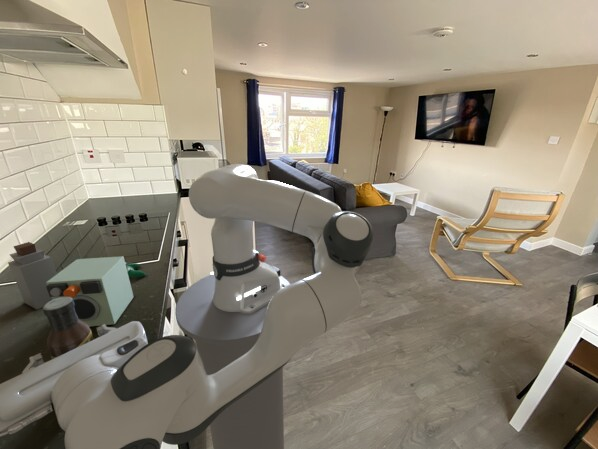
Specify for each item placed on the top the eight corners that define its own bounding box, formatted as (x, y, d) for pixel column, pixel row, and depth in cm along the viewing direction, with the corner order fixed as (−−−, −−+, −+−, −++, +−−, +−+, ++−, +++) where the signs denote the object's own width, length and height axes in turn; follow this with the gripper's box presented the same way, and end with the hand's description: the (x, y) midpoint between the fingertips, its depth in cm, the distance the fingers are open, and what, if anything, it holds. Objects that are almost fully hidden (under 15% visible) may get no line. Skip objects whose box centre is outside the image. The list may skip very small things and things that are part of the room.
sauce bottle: (99, 396, 51) (69, 311, 44) (60, 406, 49) (22, 319, 42) (110, 368, 56) (85, 290, 49) (75, 376, 54) (44, 296, 48)
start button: (76, 297, 62) (73, 289, 61) (64, 298, 62) (61, 290, 61) (81, 292, 64) (78, 284, 63) (70, 293, 63) (67, 285, 63)
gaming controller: (133, 273, 96) (117, 266, 92) (140, 264, 97) (124, 257, 93) (140, 283, 90) (123, 277, 86) (147, 273, 91) (130, 267, 87)
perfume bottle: (64, 296, 80) (45, 242, 74) (36, 309, 74) (13, 252, 68) (53, 290, 83) (33, 238, 76) (25, 303, 77) (1, 247, 71)
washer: (111, 328, 67) (97, 282, 63) (59, 334, 66) (40, 286, 61) (133, 296, 80) (123, 256, 75) (90, 300, 78) (76, 259, 73)
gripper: (1, 460, 34) (-5, 394, 43) (161, 361, 49) (133, 326, 57) (-19, 428, 32) (-21, 365, 40) (155, 334, 47) (127, 302, 55)
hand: (70, 342), depth 49 cm, fingers open, 8 cm apart
